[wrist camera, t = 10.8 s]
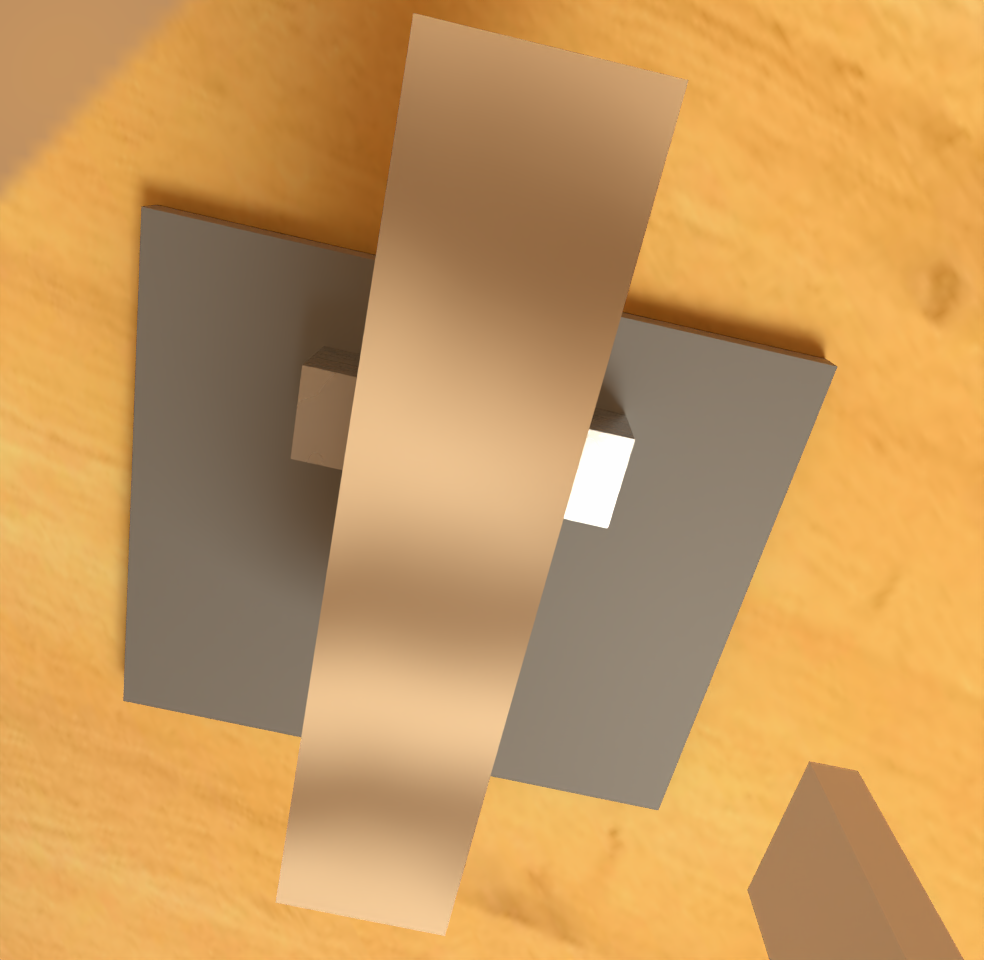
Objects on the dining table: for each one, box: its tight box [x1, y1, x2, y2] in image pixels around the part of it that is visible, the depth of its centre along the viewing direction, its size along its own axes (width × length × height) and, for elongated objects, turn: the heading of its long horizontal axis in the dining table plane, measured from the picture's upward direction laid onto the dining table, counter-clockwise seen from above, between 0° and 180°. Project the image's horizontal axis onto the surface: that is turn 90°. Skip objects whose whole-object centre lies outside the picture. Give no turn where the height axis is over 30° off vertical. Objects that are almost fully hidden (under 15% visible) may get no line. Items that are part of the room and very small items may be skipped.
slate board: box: [123, 205, 837, 810], centre depth 28 cm, size 22×19×1 cm
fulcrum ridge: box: [291, 346, 635, 528], centre depth 23 cm, size 10×3×6 cm, turn 78°
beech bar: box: [276, 13, 688, 936], centre depth 18 cm, size 20×4×5 cm, turn 168°
